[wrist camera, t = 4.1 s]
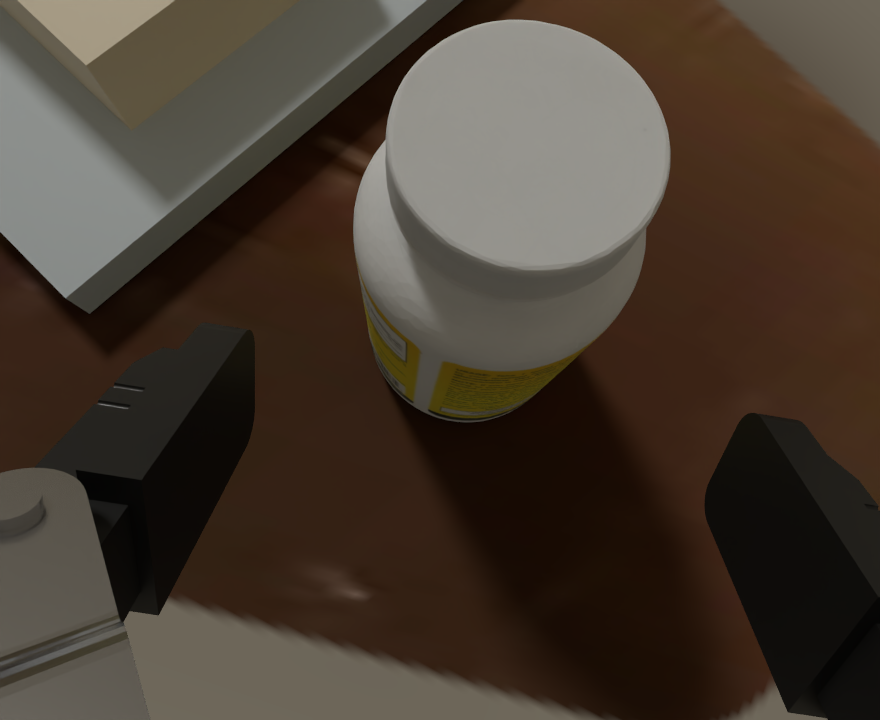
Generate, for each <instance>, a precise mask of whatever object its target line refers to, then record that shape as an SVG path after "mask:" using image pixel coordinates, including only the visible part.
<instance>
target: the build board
mask: <svg viewBox="0 0 880 720" xmlns="http://www.w3.org/2000/svg"><path fill="white" fill-rule="evenodd" d="M462 1H463V0H0V232H1V233H2V234H3V235H4V236H5V237H6V238H7V239H8V240H9V241H10V242H11V243H12V244H13V245H14V246H15V247H16V248H17V249H18V251H19V252H20V253H21V254H22V255H23V256H24V257H25V258H26V259H27V260H28V261H29V262H30V263H31V264H32V265H33V266H34V267H35V268H36V269H37V270H38V271H39V272H40V273H41V274H42V275H43V276H44V277H45V278H46V279H47V280H48V281H49V282H50V283H51V284H52V285H53V286H54V287H55V288H56V289H57V290H58V291H59V292H60V293H61V294H62V295H63V296H64V297H65V298H66V299H67V300H69V301H70V302H72V303H73V304H75V305H77V306H78V307H80V308H81V309H83V310H84V311H86V312H87V313H89V314H90V313H91V312H93V311H94V310H95V309H96V308H97V307H98V306H100V305H101V304H102V303H103V302H104V301H106V300H107V299H108V298H109V297H110V296H112V295H113V294H114V293H115V292H116V291H118V290H119V289H120V288H121V287H122V286H123V285H125V284H126V283H127V282H128V281H129V280H131V279H132V278H133V277H134V276H135V275H137V274H138V273H139V272H140V271H141V270H143V269H144V268H145V267H146V266H147V265H148V264H150V263H151V262H152V261H153V260H154V259H156V258H157V257H158V256H159V255H160V254H162V253H163V252H164V251H165V250H166V249H168V248H169V247H170V246H171V245H172V244H173V243H175V242H176V241H177V240H178V239H179V238H181V237H182V236H183V235H184V234H185V233H187V232H188V231H189V230H190V229H191V228H193V227H194V226H195V225H196V224H197V223H199V222H200V221H201V220H202V219H203V218H204V217H206V216H207V215H208V214H209V213H210V212H212V211H213V210H214V209H215V208H216V207H218V206H219V205H220V204H221V203H222V202H224V201H225V200H226V199H227V198H228V197H229V196H231V195H232V194H233V193H234V192H235V191H237V190H238V189H239V188H240V187H241V186H243V185H244V184H245V183H246V182H247V181H249V180H250V179H251V178H252V177H253V176H254V175H256V174H257V173H258V172H259V171H260V170H262V169H263V168H264V167H265V166H266V165H268V164H269V163H270V162H271V161H272V160H274V159H275V158H276V157H277V156H278V155H279V154H281V153H282V152H283V151H284V150H285V149H287V148H288V147H289V146H290V145H291V144H293V143H294V142H295V141H296V140H297V139H299V138H300V137H301V136H302V135H303V134H304V133H306V132H307V131H308V130H309V129H310V128H312V127H313V126H314V125H315V124H316V123H318V122H319V121H320V120H321V119H322V118H324V117H325V116H326V115H327V114H328V113H329V112H331V111H332V110H333V109H334V108H335V107H337V106H338V105H339V104H340V103H341V102H343V101H344V100H345V99H346V98H347V97H349V96H350V95H351V94H352V93H353V92H354V91H356V90H357V89H358V88H359V87H360V86H362V85H363V84H364V83H365V82H366V81H368V80H369V79H370V78H371V77H372V76H374V75H375V74H376V73H377V72H378V71H380V70H381V69H382V68H383V67H384V66H385V65H387V64H388V63H389V62H390V61H391V60H393V59H394V58H395V57H396V56H397V55H399V54H400V53H401V52H402V51H403V50H405V49H406V48H407V47H408V46H409V45H410V44H412V43H413V42H414V41H415V40H416V39H418V38H419V37H420V36H421V35H422V34H424V33H425V32H426V31H427V30H428V29H430V28H431V27H432V26H433V25H434V24H435V23H437V22H438V21H439V20H440V19H441V18H443V17H444V16H445V15H446V14H447V13H449V12H450V11H451V10H452V9H453V8H455V7H456V6H457V5H458V4H459V3H460V2H462Z"/></svg>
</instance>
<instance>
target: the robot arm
mask: <svg viewBox="0 0 880 720" xmlns="http://www.w3.org/2000/svg"><path fill="white" fill-rule="evenodd" d="M254 413H255V342H254V336H253V333H252V331H251V330H247V329H240V328H234V327H228V326H222V325H216V324H210V323H202V324H200V325H199V326H198V327H197V328H196V329H195V331H194V332H193V333H192V334H191V335H190V336H189V338H188V339H187V340H186V341H185V342H184V343H183V345H182V346H181V347H180V348H179V349H178V350H175V349H169V348H161V349H159V350H157V351H155V352H154V353H152V354H150V355H148V356H146V357H144V358H142V359H140V360H138V361H136V362H134V363H133V364H132V365H131V366H130V367H129V368H128V369H127V370H126V371H125V372H124V373H123V374H122V375H121V376H120V378H119V379H118V380H117V381H116V382H115V384H114V387H110V388H109V389H108V390H107V391H106V392H105V393H104V394H103V395H102V397H101V398H100V399H99V400H98V404H97V405H96V404H94V405H93V406H92V407H91V408H90V409H89V410H88V411H87V412H86V413H85V415H84V416H83V417H82V418H81V419H80V420H79V421H78V422H77V423H76V424H75V425H74V426H73V427H72V428H71V429H70V430H69V431H68V433H67V434H66V435H65V436H64V437H63V438H62V439H61V440H60V441H59V442H58V443H57V444H56V445H55V446H54V447H53V448H52V449H51V451H50V452H49V453H48V454H47V455H46V456H45V457H44V458H43V459H42V460H41V461H40V462H39V463H38V464H37V465H36V466H35V467H34V468H25V469H17V470H12V471H7V472H3V473H0V720H150V716H149V713H148V709H147V705H146V702H145V698H144V694H143V690H142V687H141V683H140V679H139V675H138V672H137V668H136V665H135V661H134V657H133V653H132V650H131V646H130V642H129V638H128V635H127V632H126V629H125V625H124V623H123V622H124V620H125V618H126V616H127V614H128V613H129V611H133V612H140V613H146V614H153V615H159V614H160V612H161V610H162V608H163V606H164V604H165V602H166V600H167V598H168V596H169V594H170V593H171V591H172V589H173V587H174V585H175V583H176V581H177V579H178V577H179V575H180V573H181V571H182V569H183V568H184V566H185V564H186V562H187V560H188V558H189V556H190V554H191V552H192V550H193V548H194V546H195V545H196V543H197V541H198V539H199V537H200V535H201V533H202V531H203V529H204V527H205V525H206V523H207V522H208V520H209V518H210V516H211V514H212V512H213V510H214V508H215V506H216V504H217V502H218V500H219V499H220V497H221V495H222V493H223V491H224V489H225V487H226V485H227V483H228V481H229V479H230V477H231V476H232V474H233V472H234V470H235V468H236V466H237V464H238V462H239V460H240V458H241V456H242V454H243V452H244V451H245V449H246V446H247V444H248V442H249V439H250V435H251V432H252V427H253V422H254ZM705 515H706V519H707V522H708V525H709V527H710V529H711V532H712V534H713V537H714V539H715V541H716V544H717V546H718V548H719V551H720V553H721V555H722V558H723V560H724V563H725V565H726V567H727V570H728V572H729V574H730V577H731V579H732V581H733V584H734V586H735V589H736V591H737V593H738V596H739V598H740V600H741V603H742V605H743V607H744V610H745V612H746V615H747V617H748V619H749V622H750V624H751V626H752V629H753V631H754V633H755V636H756V638H757V641H758V643H759V645H760V648H761V650H762V652H763V655H764V657H765V659H766V662H767V664H768V667H769V669H770V671H771V674H772V676H773V678H774V681H775V683H776V685H777V688H778V690H779V693H780V695H781V697H782V700H783V702H784V704H785V707H786V709H787V711H788V712H790V713H796V714H804V715H809V716H816V717H823V718H827V719H828V720H880V511H878V505H877V503H876V502H875V501H874V500H873V498H872V497H871V496H870V494H869V493H868V492H867V490H866V489H865V488H864V487H863V485H862V484H861V483H860V481H859V480H858V479H856V478H855V477H854V476H853V475H852V474H850V473H849V472H848V471H847V470H845V469H844V468H843V467H842V466H840V465H839V464H838V463H837V462H836V461H834V460H833V459H832V458H831V457H829V456H828V455H827V454H826V452H825V451H824V450H823V448H822V447H821V446H820V444H819V443H818V442H817V440H816V439H815V438H814V436H813V435H812V434H811V432H810V431H809V430H808V428H807V427H806V426H805V425H804V424H803V423H802V422H801V421H798V420H793V419H787V418H781V417H775V416H769V415H763V414H756V413H749V414H747V415H745V416H744V417H743V418H742V419H741V421H740V422H739V424H738V425H737V427H736V429H735V431H734V433H733V435H732V437H731V439H730V441H729V443H728V445H727V447H726V449H725V451H724V453H723V455H722V457H721V459H720V461H719V463H718V465H717V467H716V469H715V471H714V473H713V475H712V477H711V479H710V482H709V484H708V487H707V490H706V494H705Z"/></svg>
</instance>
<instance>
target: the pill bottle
mask: <svg viewBox="0 0 880 720" xmlns="http://www.w3.org/2000/svg"><path fill="white" fill-rule="evenodd" d="M669 171H670V143H669V136H668V130H667V126H666V123H665V120H664V117H663V114H662V112H661V109H660V107H659V105H658V103H657V101H656V99H655V97H654V95H653V93H652V92H651V90H650V89H649V87H648V86H647V85H646V83H645V82H644V80H643V79H642V78H641V77H640V76H639V74H638V73H637V72H636V71H635V70H634V69H633V68H632V67H631V66H630V65H629V64H628V63H627V62H626V61H625V60H623V59H622V58H621V57H620V56H619V55H618V54H616V53H615V52H614V51H612V50H611V49H609V48H608V47H606V46H604V45H603V44H601V43H600V42H598V41H597V40H595V39H593V38H591V37H589V36H587V35H584V34H582V33H579V32H577V31H575V30H572V29H569V28H566V27H562V26H559V25H554V24H549V23H544V22H539V21H530V20H503V21H492V22H488V23H483V24H479V25H476V26H473V27H470V28H467V29H465V30H462V31H460V32H457V33H455V34H453V35H451V36H450V37H448V38H446V39H444V40H442V41H441V42H439V43H438V44H437V45H435V46H434V47H433V48H431V49H430V50H428V51H427V52H426V53H425V54H424V55H423V56H422V57H421V58H420V59H419V60H418V61H417V62H416V63H415V64H414V65H413V66H412V68H411V69H410V70H409V72H408V73H407V74H406V76H405V77H404V79H403V81H402V82H401V84H400V86H399V88H398V90H397V92H396V94H395V96H394V99H393V102H392V105H391V109H390V112H389V116H388V122H387V129H386V140H385V141H384V142H383V144H382V145H381V146H380V148H379V149H378V150H377V152H376V153H375V155H374V156H373V158H372V160H371V161H370V163H369V165H368V167H367V169H366V171H365V173H364V176H363V178H362V181H361V184H360V187H359V190H358V194H357V199H356V204H355V208H354V226H353V233H354V248H355V256H356V263H357V268H358V272H359V277H360V283H361V289H362V296H363V301H364V306H365V313H366V317H367V324H368V330H369V336H370V340H371V345H372V349H373V352H374V355H375V358H376V361H377V363H378V366H379V368H380V370H381V372H382V373H383V375H384V377H385V378H386V380H387V381H388V383H389V384H390V385H391V386H392V388H393V389H394V390H395V391H396V392H397V393H398V394H399V395H400V396H401V397H402V398H403V399H404V400H406V401H407V402H408V403H409V404H411V405H412V406H414V407H415V408H417V409H419V410H421V411H423V412H425V413H427V414H429V415H431V416H434V417H437V418H440V419H444V420H448V421H455V422H479V421H485V420H490V419H493V418H496V417H500V416H503V415H505V414H507V413H509V412H511V411H513V410H515V409H516V408H518V407H520V406H521V405H523V404H524V403H525V402H527V401H528V400H529V399H531V398H532V397H533V396H534V395H535V394H536V393H538V392H539V391H540V390H541V389H542V388H543V387H544V386H545V385H546V384H548V383H549V382H550V381H551V380H552V379H553V378H554V377H555V376H556V375H557V374H559V373H560V372H561V371H562V370H563V369H564V368H565V367H566V366H568V365H569V364H570V363H571V362H572V361H573V360H574V359H575V358H576V357H577V356H578V355H579V354H580V353H581V352H582V351H584V350H585V349H586V348H587V347H588V346H589V345H590V344H591V343H592V342H593V341H595V340H596V339H597V338H598V337H599V336H600V335H601V334H602V333H603V332H604V331H605V330H606V329H607V328H608V327H609V325H610V324H611V323H612V322H613V321H614V320H615V318H616V317H617V316H618V314H619V313H620V311H621V310H622V308H623V307H624V305H625V304H626V302H627V300H628V299H629V297H630V295H631V293H632V291H633V289H634V287H635V285H636V282H637V280H638V277H639V274H640V271H641V267H642V263H643V258H644V253H645V244H646V227H647V226H648V224H649V223H650V221H651V220H652V218H653V216H654V215H655V213H656V211H657V210H658V207H659V205H660V203H661V201H662V198H663V196H664V192H665V189H666V185H667V182H668V177H669Z"/></svg>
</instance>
